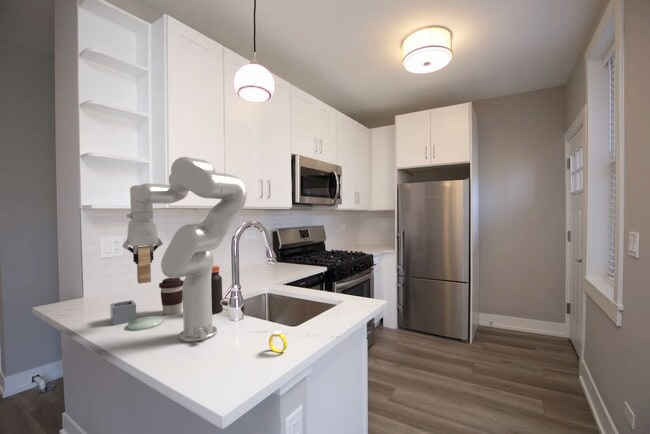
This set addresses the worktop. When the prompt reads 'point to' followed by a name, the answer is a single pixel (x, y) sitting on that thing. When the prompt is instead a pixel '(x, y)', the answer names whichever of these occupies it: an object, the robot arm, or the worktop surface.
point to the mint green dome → (145, 323)
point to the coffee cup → (171, 295)
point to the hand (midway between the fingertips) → (143, 262)
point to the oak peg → (143, 265)
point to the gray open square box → (123, 312)
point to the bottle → (216, 290)
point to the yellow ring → (279, 333)
